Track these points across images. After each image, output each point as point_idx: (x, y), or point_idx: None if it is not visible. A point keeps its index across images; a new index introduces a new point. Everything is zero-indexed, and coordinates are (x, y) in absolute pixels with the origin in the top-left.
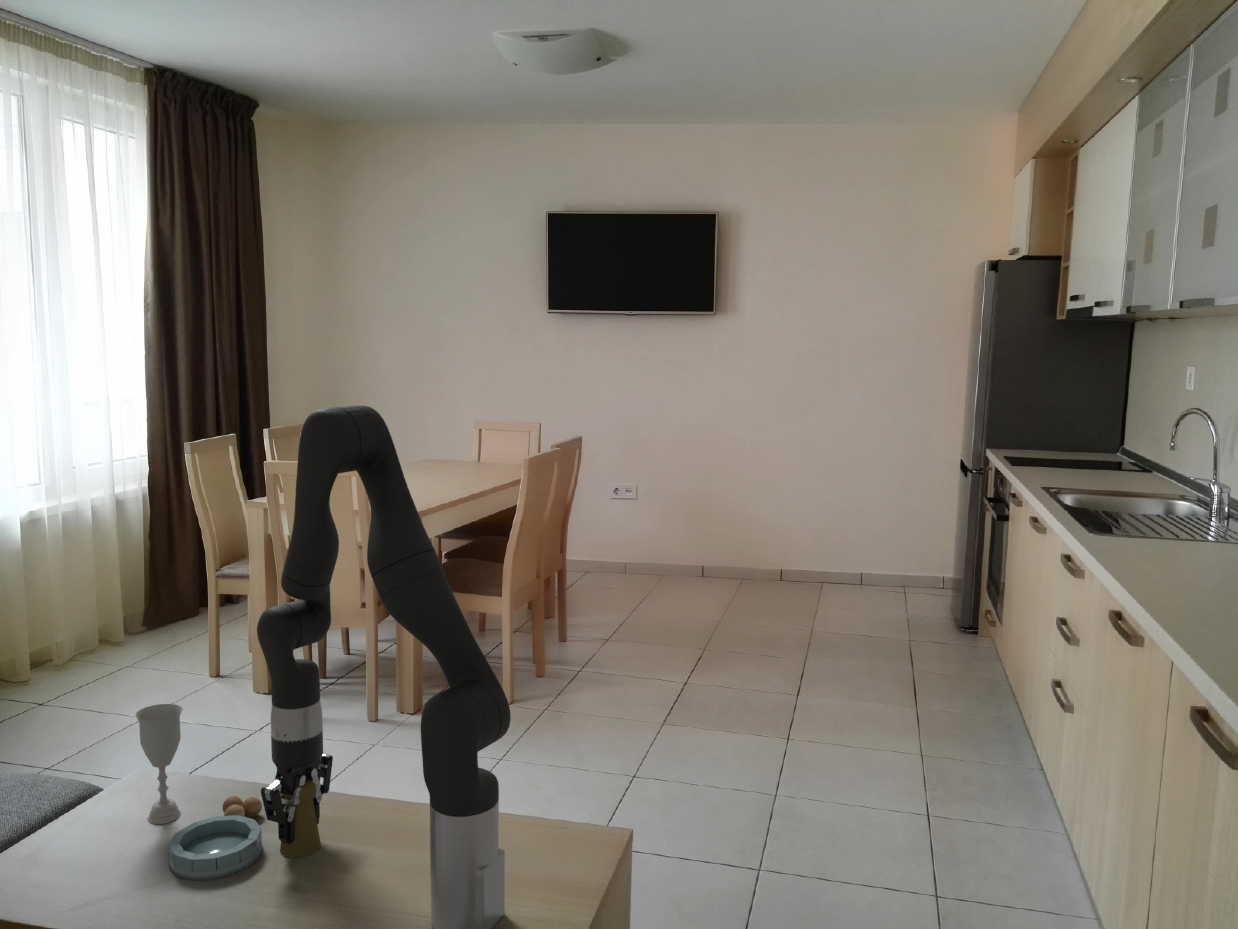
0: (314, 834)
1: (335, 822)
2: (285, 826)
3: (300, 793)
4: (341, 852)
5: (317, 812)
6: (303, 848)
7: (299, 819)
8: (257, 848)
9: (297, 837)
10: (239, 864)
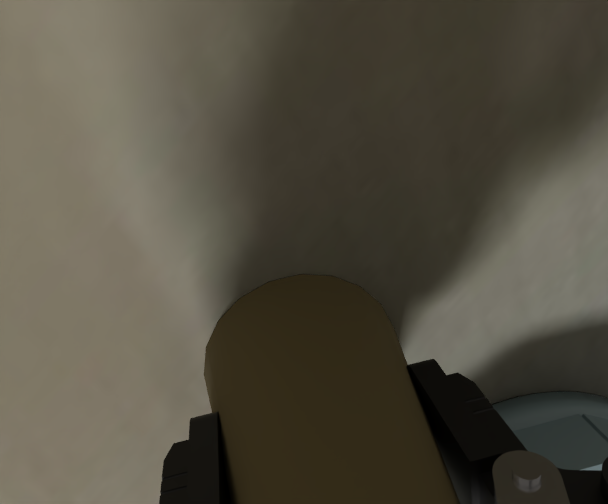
0: (297, 336)
1: (24, 427)
2: (519, 443)
3: None
4: (209, 159)
5: (201, 475)
6: (363, 308)
7: (424, 447)
8: None
9: (401, 366)
10: (582, 411)
